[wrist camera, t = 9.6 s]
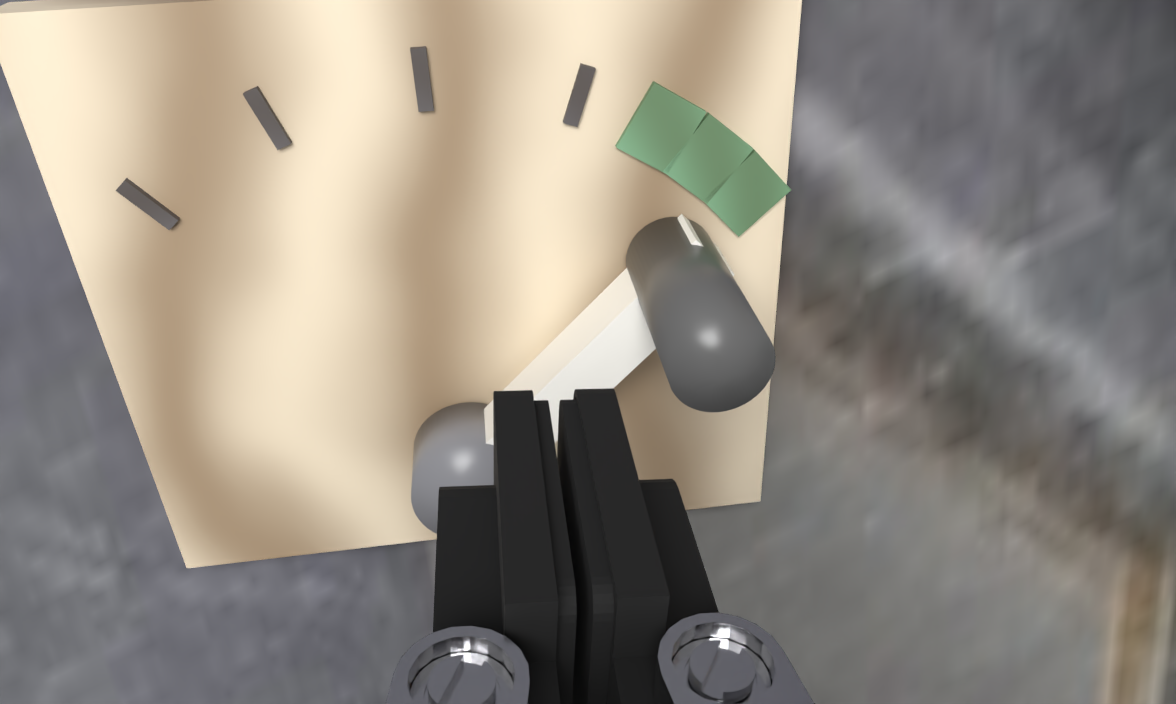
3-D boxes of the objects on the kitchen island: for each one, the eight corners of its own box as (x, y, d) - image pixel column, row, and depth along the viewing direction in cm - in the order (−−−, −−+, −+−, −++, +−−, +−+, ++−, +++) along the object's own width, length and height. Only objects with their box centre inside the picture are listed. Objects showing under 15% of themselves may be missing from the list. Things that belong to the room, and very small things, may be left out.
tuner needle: (476, 508, 31) (482, 654, 26) (390, 455, 29) (377, 600, 24) (740, 260, 27) (810, 371, 22) (658, 185, 26) (711, 286, 20)
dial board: (789, -46, 25) (810, -36, 23) (751, 474, 34) (764, 504, 33) (8, 2, 23) (-22, 16, 21) (197, 537, 32) (185, 572, 31)
